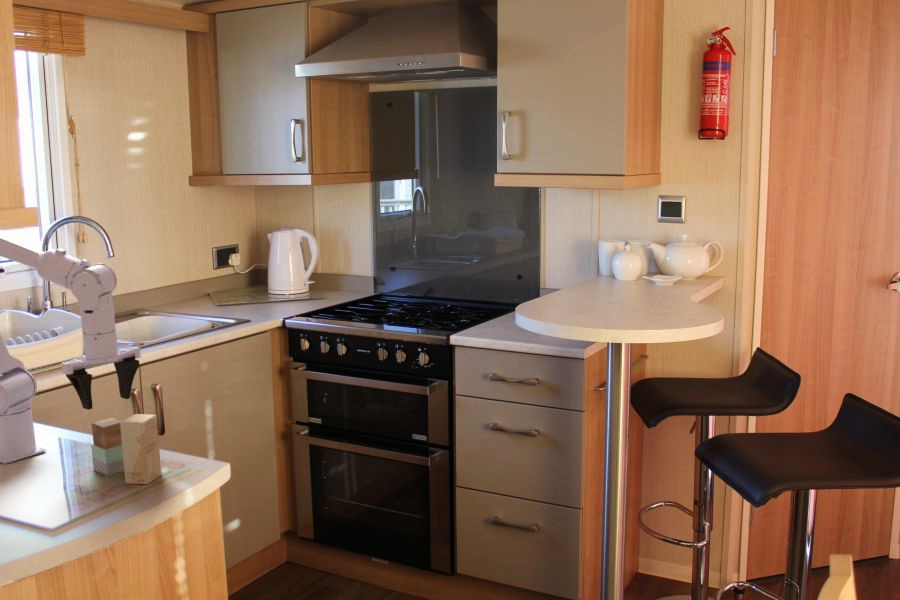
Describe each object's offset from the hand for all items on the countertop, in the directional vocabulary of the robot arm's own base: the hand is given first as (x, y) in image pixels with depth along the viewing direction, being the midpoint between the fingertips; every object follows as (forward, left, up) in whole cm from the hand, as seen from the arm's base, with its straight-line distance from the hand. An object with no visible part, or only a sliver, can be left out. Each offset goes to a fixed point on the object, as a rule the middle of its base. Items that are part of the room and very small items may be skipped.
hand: (106, 403), depth 166 cm
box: (+15, -3, -11) cm, 19 cm away
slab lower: (+6, -3, -11) cm, 13 cm away
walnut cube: (+6, -4, -6) cm, 9 cm away
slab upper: (+6, -3, -8) cm, 11 cm away
